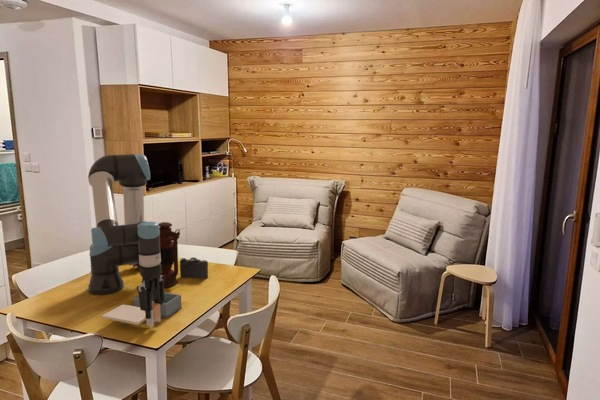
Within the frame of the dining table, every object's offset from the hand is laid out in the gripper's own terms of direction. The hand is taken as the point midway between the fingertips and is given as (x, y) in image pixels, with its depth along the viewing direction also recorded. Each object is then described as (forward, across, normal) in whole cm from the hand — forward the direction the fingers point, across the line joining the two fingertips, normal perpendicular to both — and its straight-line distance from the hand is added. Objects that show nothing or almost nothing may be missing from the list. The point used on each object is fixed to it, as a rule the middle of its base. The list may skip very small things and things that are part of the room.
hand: (153, 323), depth 153 cm
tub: (+2, +14, +9) cm, 17 cm away
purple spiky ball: (+2, +53, +52) cm, 74 cm away
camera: (+3, +56, +18) cm, 58 cm away
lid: (0, 0, +9) cm, 9 cm away
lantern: (+2, +39, +26) cm, 47 cm away
